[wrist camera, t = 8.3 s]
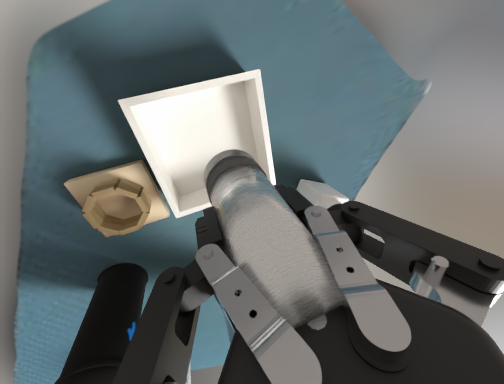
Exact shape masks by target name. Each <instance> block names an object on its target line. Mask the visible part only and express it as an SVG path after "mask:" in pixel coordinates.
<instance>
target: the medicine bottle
mask: <svg viewBox="0 0 504 384" xmlns="http://www.w3.org/2000/svg"><path fill="white" fill-rule="evenodd" d="M296 190H297V191H298V192H299V193H300V194H302V195H303V197H305V198H306V199H307V200H309V201H310V202H311V203H312V204H313V205H314V206H322V207H324V208H326V209H327V210H328V211H333V210H341V206H342V204H343V203H345V202H348V200H349V199H348V198H347V197H345V196H344V195H342V194H341V193H339V192H338V191H336V190H335V189H333V188H332V187H330V186H329V185H327V184H325V183H320V182H315V181H309V180H304V179H301V180H300V182H299V184H298V187H297V189H296Z"/></svg>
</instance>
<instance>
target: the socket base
mask: <svg viewBox="0 0 504 384" xmlns="http://www.w3.org/2000/svg"><path fill="white" fill-rule="evenodd" d="M64 185H65V186H66V188H67V189H68V190H69V191H70V193H71V194H72V195H73V197H74V198H75V199H76V200H77V202H78V203H79V204H80V205H81V207H82V208H83V210H82V212H84V213H83V214H82V215H83V216H84V217H85V218H86V220H87V221H88V222H89V223H90V225H91V226H92V227H93V228H94V229H96V228H98V230H97V231H100V232H102V233H103V234H104V236H105V237H106V238H107V237H110V236H113V235H117V236H118V235H119V233H120V234H121V235H125V234H128V233H131V232H133V231H136V230H139V229H140V227H143V225H145V224H148V223H151V222H154V221H157V220H160V219H163V218H166V217H169V213H170V212H169V210H168V208H167V206H166V204H165V202H164V200H163V198H162V196H161V194H160V192H159V190H158V188H157V186H156V184H155V182H154V180H153V178H152V176H151V174H150V172H149V170H148V168H147V166H146V164H145V163H144V161H143V159H141V160H137V161H134V162H130V163H127V164H123V165H119V166H116V167H112V168H108V169H105V170H101V171H98V172H94V173H90V174H87V175H83V176H79V177H76V178H72V179H69V180H68V181H66V182H65V183H64Z"/></svg>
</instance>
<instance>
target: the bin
mask: <svg viewBox="0 0 504 384" xmlns="http://www.w3.org/2000/svg"><path fill="white" fill-rule="evenodd" d="M118 102H119V104H120V106H121V108H122V110H123V112H124V114H125V116H126V118H127V120H128V122H129V124H130V126H131V128H132V130H133V132H134V134H135V136H136V138H137V140H138V142H139V144H140V146H141V148H142V150H143V152H144V154H145V156H146V159H147V161H148V163H149V165H150V167H151V169H152V171H153V173H154V175H155V177H156V179H157V181H158V183H159V185H160V187H161V189H162V191H163V193H164V195H165V197H166V199H167V201H168V203H169V205H170V207H171V209H172V211H173V213H174V215H175V217H176V218H179V217H182V216H185V215H188V214H191V213H194V212H197V211H200V210H203V209H205V208H208V207H211V206H212V205H211V203H210V200H209V197H208V193H207V190H206V186H205V183H204V171H205V168H206V166H207V164H208V162H209V161H210V160H211V159H212V158H213V157H214V156H215V155H217V154H219V153H220V152H223V151H226V150H231V149H237V150H242V151H245V152H247V153H248V154H250V155H251V156H252V157H253V158H254V159H255V161H256V162H257V163H258V165H259V166H260V167H261V168H262V170H263V171H264V172H265V174H266V176H267V178H268V179H269V181H270V182H271V183H272V185H273V186H274V185H276V180H275V173H274V166H273V159H272V152H271V144H270V137H269V130H268V123H267V116H266V109H265V102H264V94H263V87H262V80H261V73H260V69H258V70H253V71H249V72H244V73H239V74H235V75H230V76H226V77H221V78H217V79H212V80H208V81H203V82H198V83H194V84H189V85H185V86H180V87H176V88H171V89H166V90H162V91H157V92H153V93H148V94H144V95H139V96H135V97H130V98H125V99H121V100H118Z"/></svg>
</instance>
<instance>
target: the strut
mask: <svg viewBox="0 0 504 384" xmlns="http://www.w3.org/2000/svg"><path fill="white" fill-rule="evenodd" d="M204 183H205V186H206V190H207V193H208V197H209V200H210V203H211V205H212V206H213V207H214V211H215V214H216V217H217V221H218V224H219V228H220V231H221V234H222V238H223V241H224V246H225V251H226V254H227V257H228V258H229V260H230V261H231V262H232V263H233V265H234V266H235V267H236V266H239V267H240V269H241V270H242V271H243V272H244V273H245V274H246V276H247V277H248V278H249V279H250V280H251V282H252V283H253V284H254V285H255V286H256V288H257V289H258V290H259V291H260V292H261V294H262V295H263V296H264V297H265V298H266V300H267V301H268V302H269V303H270V304H271V306H272V307H273V308H274V309H275V310H276V312H277V313H278V314H279V315H280V316H281V317H282V318H284V319H285V320H286V321H287V322H288V323H289V324H290V325H291V326H292V327H293V328H294V329H296V328H298V327H300V326H302V325H304V324H306V323H307V324H308V325H309V326H310V327H311V328H312V329H316V330H320V329H322V328H324V327H325V325H326V323H327V319H326V316H325V314H326V313H329V312H331V311H333V310H335V309H337V308H339V307H341V306H342V303H343V299H342V297H341V294H340V292H339V290H338V287H337V285H336V283H335V281H334V278H333V276H332V274H331V272H330V269H329V267H328V265H327V263H326V261H325V258H324V256H323V254H322V252H321V250H320V248H319V246H318V244H317V243H316V241H315V239H314V237H313V236H312V234H311V233H310V232H309V231H308V229H307V228H306V227H305V225H304V224H303V223H302V222H301V220H300V219H299V218H298V216H297V215H296V214H295V213H294V211H293V210H292V209H291V208H290V206H289V205H288V204H287V202H286V201H285V200H284V199H283V197H282V196H281V195H280V193H279V192H278V191H277V190H276V188H275V187H274V186H273V185H272V183H271V182H270V181H269V179H268V178H267V176H266V174H265V172H264V171H263V170H262V168H261V167H260V166H259V165H258V163H257V162H256V161H255V159H254V158H253V157H252V156H251V155H250V154H248V153H247V152H245V151H242V150H237V149H231V150H226V151H223V152H220V153H219V154H217V155H215V156H214V157H213V158H212V159H211V160H210V161H209V162H208V164H207V166H206V168H205V171H204Z"/></svg>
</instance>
